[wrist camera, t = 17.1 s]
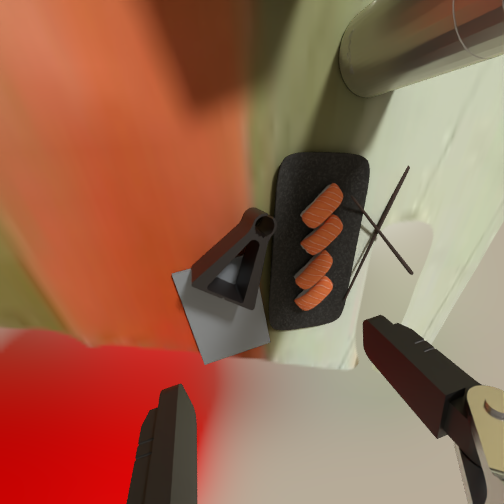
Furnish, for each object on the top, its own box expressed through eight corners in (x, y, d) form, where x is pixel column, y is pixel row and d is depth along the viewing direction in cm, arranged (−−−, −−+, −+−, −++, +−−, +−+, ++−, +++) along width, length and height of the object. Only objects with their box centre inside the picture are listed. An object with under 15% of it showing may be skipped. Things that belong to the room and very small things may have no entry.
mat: (251, 251, 36) (252, 252, 36) (269, 340, 44) (270, 342, 43) (172, 273, 34) (171, 275, 34) (204, 362, 42) (204, 364, 41)
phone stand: (190, 285, 29) (238, 196, 27) (190, 268, 34) (230, 193, 33) (253, 311, 32) (300, 232, 30) (244, 291, 37) (283, 223, 36)
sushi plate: (274, 150, 32) (284, 150, 29) (446, 156, 40) (470, 157, 36) (264, 326, 43) (271, 341, 40) (401, 306, 50) (417, 317, 47)
